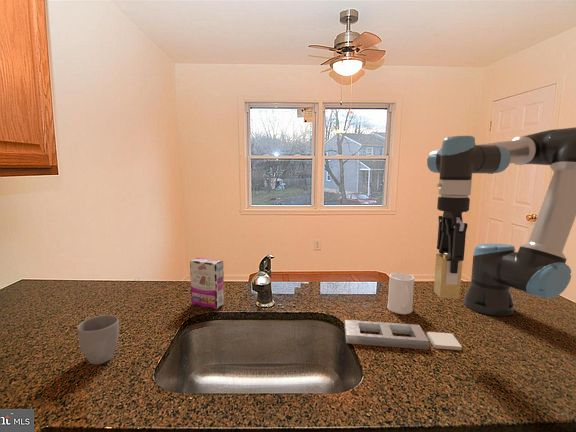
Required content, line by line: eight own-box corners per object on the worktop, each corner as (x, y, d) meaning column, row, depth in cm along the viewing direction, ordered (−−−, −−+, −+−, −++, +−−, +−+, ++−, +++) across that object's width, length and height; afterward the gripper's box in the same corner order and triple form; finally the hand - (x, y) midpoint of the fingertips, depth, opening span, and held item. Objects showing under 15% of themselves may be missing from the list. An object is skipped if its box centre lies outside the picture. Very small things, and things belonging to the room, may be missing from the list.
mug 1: (112, 367, 75) (109, 330, 73) (73, 370, 73) (69, 332, 72) (130, 340, 86) (128, 308, 85) (96, 342, 85) (93, 310, 84)
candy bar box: (225, 304, 111) (224, 260, 108) (216, 310, 106) (215, 264, 104) (199, 299, 115) (198, 256, 112) (190, 304, 110) (189, 260, 108)
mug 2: (417, 319, 100) (420, 284, 99) (390, 317, 102) (393, 283, 100) (409, 304, 112) (411, 273, 110) (385, 302, 113) (387, 271, 112)
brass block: (452, 291, 88) (455, 251, 86) (459, 298, 83) (462, 256, 81) (433, 290, 88) (436, 250, 86) (439, 297, 83) (442, 255, 82)
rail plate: (418, 332, 92) (419, 324, 92) (428, 349, 83) (429, 341, 83) (344, 327, 95) (344, 319, 95) (346, 343, 86) (346, 334, 86)
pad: (451, 336, 90) (452, 333, 90) (461, 350, 83) (462, 346, 83) (426, 334, 91) (427, 331, 91) (434, 348, 84) (435, 344, 84)
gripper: (428, 193, 91) (423, 269, 94) (451, 199, 73) (444, 292, 76) (455, 193, 90) (449, 270, 93) (485, 199, 72) (477, 293, 75)
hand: (447, 279), depth 85 cm, fingers closed on brass block, 5 cm apart
